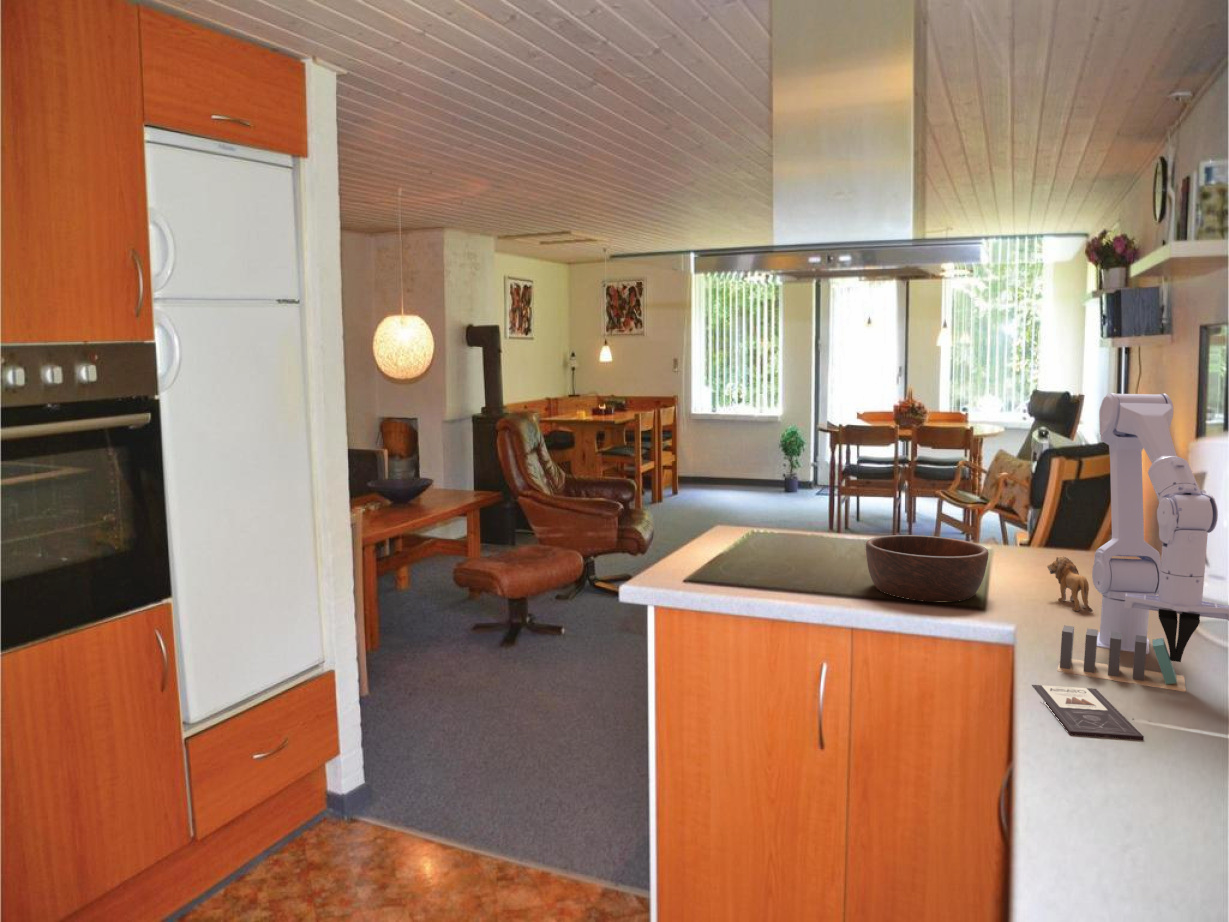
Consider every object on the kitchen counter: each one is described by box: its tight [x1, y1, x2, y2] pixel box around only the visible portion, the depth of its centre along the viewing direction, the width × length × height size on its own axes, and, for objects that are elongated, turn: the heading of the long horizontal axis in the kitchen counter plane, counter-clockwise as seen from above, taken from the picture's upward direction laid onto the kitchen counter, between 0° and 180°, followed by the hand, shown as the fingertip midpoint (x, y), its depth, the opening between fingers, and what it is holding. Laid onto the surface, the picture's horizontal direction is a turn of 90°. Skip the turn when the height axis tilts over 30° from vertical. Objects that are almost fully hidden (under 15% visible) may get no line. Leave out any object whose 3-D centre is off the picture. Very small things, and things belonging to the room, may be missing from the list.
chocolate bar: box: [1031, 684, 1145, 741], centre depth 129 cm, size 9×1×18 cm
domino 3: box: [1108, 632, 1122, 677], centre depth 144 cm, size 2×4×6 cm, turn 150°
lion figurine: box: [1046, 555, 1093, 613], centre depth 188 cm, size 15×5×9 cm, turn 2°
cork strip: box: [1056, 658, 1187, 693], centre depth 144 cm, size 8×17×1 cm, turn 60°
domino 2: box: [1083, 628, 1099, 673], centre depth 146 cm, size 2×4×6 cm, turn 150°
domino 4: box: [1132, 635, 1148, 681], centre depth 143 cm, size 2×4×6 cm, turn 150°
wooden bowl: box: [865, 534, 990, 602], centre depth 197 cm, size 25×25×10 cm
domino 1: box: [1059, 625, 1075, 669], centre depth 148 cm, size 2×4×6 cm, turn 150°
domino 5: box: [1152, 637, 1177, 684], centre depth 141 cm, size 2×4×6 cm, turn 150°
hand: (1175, 659), depth 140 cm, fingers closed
